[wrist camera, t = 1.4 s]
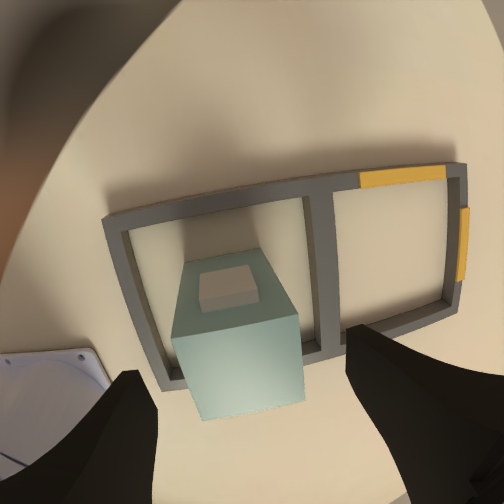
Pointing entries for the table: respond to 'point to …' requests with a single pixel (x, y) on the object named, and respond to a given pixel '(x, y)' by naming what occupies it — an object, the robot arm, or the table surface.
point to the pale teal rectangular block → (237, 336)
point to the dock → (319, 249)
